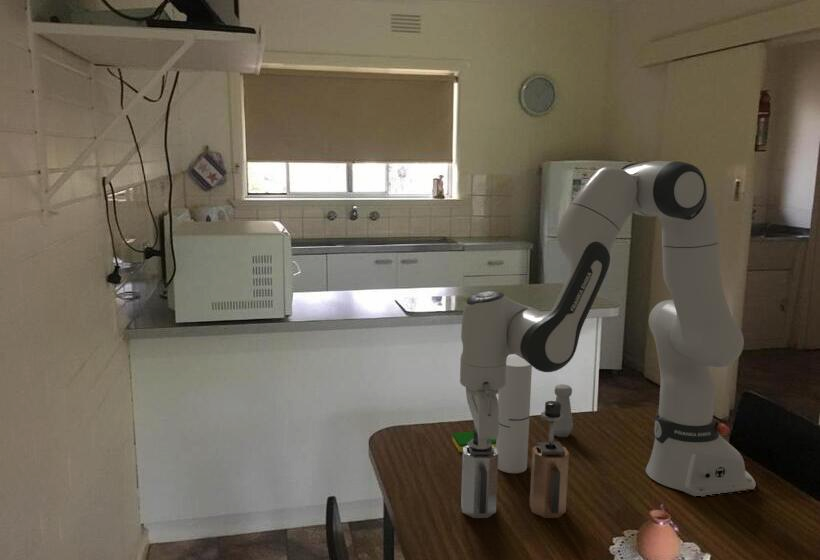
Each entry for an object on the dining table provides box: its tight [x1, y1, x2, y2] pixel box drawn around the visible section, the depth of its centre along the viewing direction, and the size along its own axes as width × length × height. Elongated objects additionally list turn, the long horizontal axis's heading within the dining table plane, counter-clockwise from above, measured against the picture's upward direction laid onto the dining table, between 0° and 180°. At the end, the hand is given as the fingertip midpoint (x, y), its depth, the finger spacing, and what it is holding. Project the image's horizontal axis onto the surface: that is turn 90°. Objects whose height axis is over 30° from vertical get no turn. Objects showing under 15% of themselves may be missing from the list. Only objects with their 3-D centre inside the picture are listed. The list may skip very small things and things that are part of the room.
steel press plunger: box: [469, 429, 492, 450], centre depth 132 cm, size 4×4×12 cm
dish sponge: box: [451, 431, 497, 453], centre depth 164 cm, size 7×14×2 cm, turn 101°
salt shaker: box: [554, 384, 574, 438], centre depth 170 cm, size 6×6×13 cm
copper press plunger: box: [540, 400, 564, 449], centre depth 131 cm, size 4×4×12 cm
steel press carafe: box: [460, 442, 499, 519], centre depth 131 cm, size 7×9×13 cm
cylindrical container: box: [496, 356, 533, 474], centre depth 150 cm, size 7×7×25 cm
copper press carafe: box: [529, 441, 570, 519], centre depth 132 cm, size 7×9×13 cm
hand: (480, 441), depth 131 cm, fingers closed on steel press plunger, 3 cm apart
